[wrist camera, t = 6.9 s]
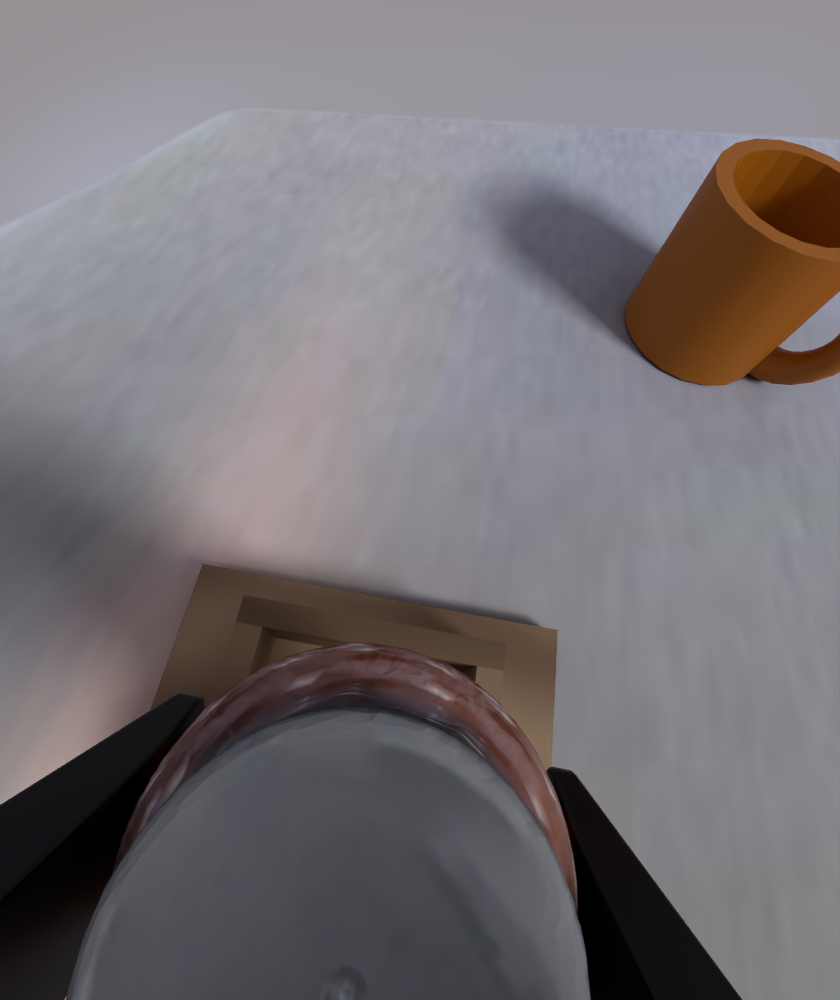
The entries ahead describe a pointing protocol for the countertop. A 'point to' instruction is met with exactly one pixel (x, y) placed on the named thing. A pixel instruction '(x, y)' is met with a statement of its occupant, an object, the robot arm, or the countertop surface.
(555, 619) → the countertop surface
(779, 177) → the mug
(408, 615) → the bottle stand
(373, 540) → the countertop surface
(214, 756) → the supplement bottle
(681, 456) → the countertop surface
